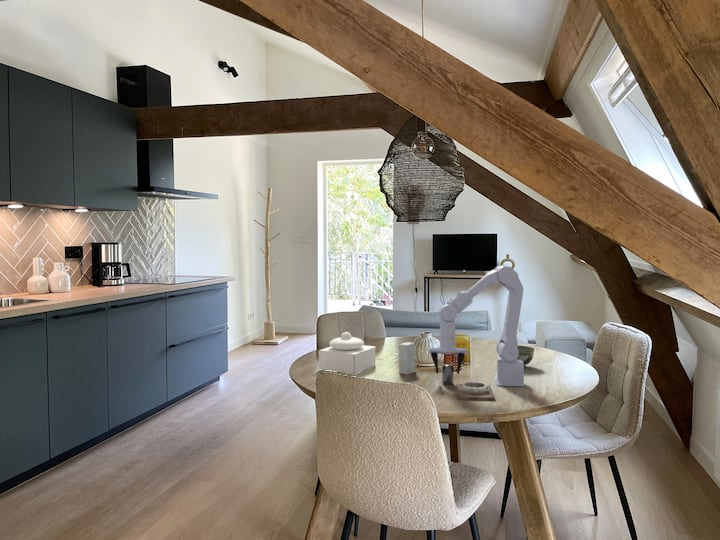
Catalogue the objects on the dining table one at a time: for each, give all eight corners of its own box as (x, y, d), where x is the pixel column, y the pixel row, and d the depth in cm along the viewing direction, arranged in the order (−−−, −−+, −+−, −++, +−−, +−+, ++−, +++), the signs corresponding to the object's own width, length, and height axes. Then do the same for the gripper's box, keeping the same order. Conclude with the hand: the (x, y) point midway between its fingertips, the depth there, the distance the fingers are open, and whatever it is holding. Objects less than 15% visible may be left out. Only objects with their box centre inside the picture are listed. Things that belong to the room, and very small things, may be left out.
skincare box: (407, 370, 223) (406, 341, 222) (415, 371, 220) (415, 343, 219) (398, 373, 218) (398, 344, 217) (407, 374, 215) (407, 345, 215)
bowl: (536, 371, 219) (536, 351, 218) (502, 370, 221) (502, 350, 221) (532, 363, 232) (532, 345, 231) (500, 362, 235) (500, 344, 234)
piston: (453, 382, 203) (452, 364, 202) (453, 385, 199) (453, 366, 198) (442, 382, 203) (442, 364, 203) (442, 385, 199) (442, 366, 199)
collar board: (489, 387, 195) (489, 379, 195) (494, 400, 179) (494, 391, 179) (456, 386, 197) (456, 378, 196) (458, 399, 181) (458, 390, 181)
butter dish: (341, 362, 240) (340, 327, 239) (376, 366, 231) (376, 330, 230) (318, 370, 225) (318, 333, 224) (355, 375, 215) (354, 336, 215)
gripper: (466, 335, 203) (466, 370, 204) (428, 334, 205) (428, 369, 206) (467, 338, 196) (467, 375, 197) (428, 338, 198) (428, 374, 199)
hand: (447, 372), depth 201 cm, fingers open, 7 cm apart
